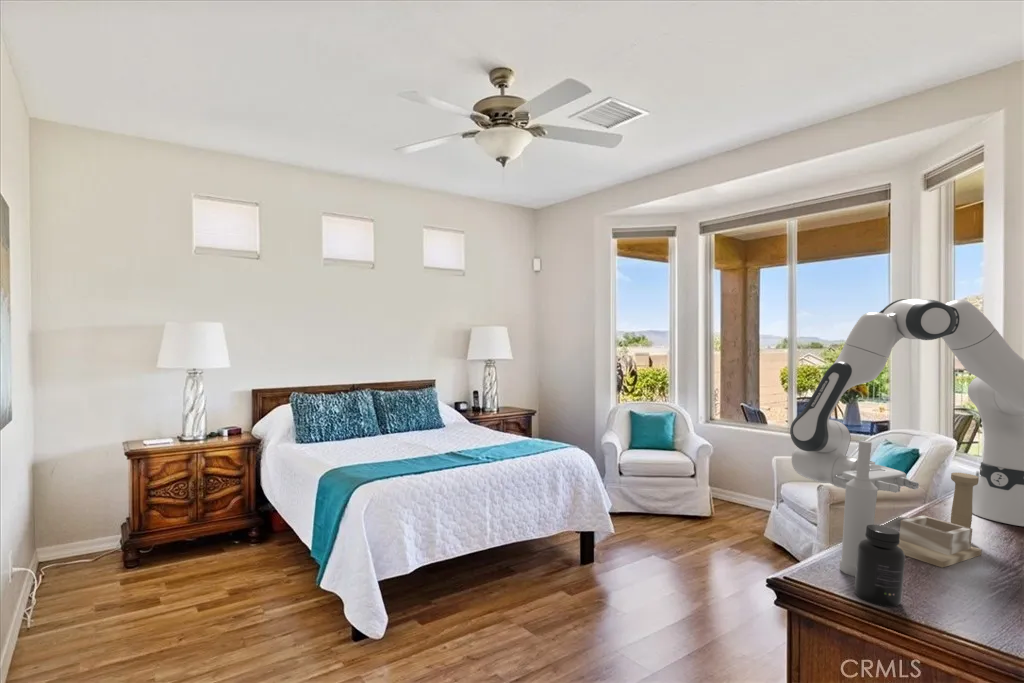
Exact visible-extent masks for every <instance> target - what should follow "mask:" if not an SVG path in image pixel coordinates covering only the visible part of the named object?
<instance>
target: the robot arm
mask: <svg viewBox="0 0 1024 683" xmlns="http://www.w3.org/2000/svg"><path fill="white" fill-rule="evenodd" d="M904 338H905V339H909V340H922V341H932V340H938V339H942V340H943V342H944V343H945V344H946V345H947V347H948V348H949V349H950V351H951V352H952V353H953V355H954V356H955V357H956V359H957V360H958V361H959V362H960V364H961V365H962V366H963V368H964V370H966V371H967V373H969V374H971V375H973V376H974V377H975V378H973V379H972V380H971V381H970V383H969V385H968V388H967V394H968V397H969V400H970V402H971V403H973V404H974V406H975V407H976V409H977V411H978V413H979V416H980V419H981V423H982V428H983V436H984V440H983V458H982V461H980V466H979V475H980V476H979V481H978V484H977V485H975V486H973V498H972V515H975V516H978V517H980V518H984V519H987V520H990V521H994V522H997V523H1003V524H1008V525H1012V526H1019V527H1024V358H1023V357H1021V356H1020V355H1019V354H1018V353H1017V352H1015V350H1014V349H1013V348H1012V347H1011V346H1010V344H1008V342H1007V341H1006V340H1005V339H1004V337H1003V336H1002V335H1001V334H1000V332H999V330H998V329H997V328H996V327H995V326H994V324H993V323H992V321H990V320H989V319H988V318H987V317H986V316H985V315H984V313H983V312H982V311H981V310H980V309H978V308H977V307H976V306H975V305H973V303H972V302H970V301H967V300H965V299H954V300H951V301H948V302H945V303H943V302H942V301H939V300H934V299H926V298H918V297H917V298H916V297H915V298H909V299H907V298H906V299H905V298H902V299H897V300H895V301H892V302H890V303H889V304H887V305H886V306H885V307H884V308H883V309H881V310H880V311H879V312H878V311H872V312H871V311H869V312H867V313H864V314H862V315H861V316H860V317H859V318H858V320H857V321H856V323H855V324H854V326H853V328H852V329H851V331H850V332H849V335H848V336H847V339H846V340H845V342H844V345H843V347H842V349H841V351H840V353H839V355H838V357H837V358H836V360H835V361H834V363H833V364H832V365H831V366H830V367H829V368H828V369H827V371H826V372H825V373H824V375H823V376H822V378H821V380H820V382H819V384H818V385H817V387H816V389H815V390H814V391H813V393H812V396H811V397H810V399H809V401H808V403H807V404H806V406H805V408H804V409H803V410H802V411H801V412H800V413H799V414H798V415H797V416H796V417H795V418H794V419H793V421H791V425H790V429H789V434H790V439H791V441H792V442H793V444H794V445H795V446H796V448H795V449H794V450H793V452H792V454H791V465H792V467H793V470H794V471H795V472H796V474H798V475H800V476H802V477H803V478H805V479H808V480H812V481H815V482H818V483H820V484H821V483H822V484H830V485H833V486H834V487H837V488H841V489H844V490H846V483H847V482H849V481H850V480H852V479H854V476H855V475H857V464H858V457H852V456H848V455H847V453H848V450H849V447H850V444H851V439H852V438H851V432H850V431H849V428H848V427H847V426H846V425H845V424H844V423H843V422H841V421H838V420H835V419H830V417H831V416H832V414H833V412H834V410H835V409H836V407H837V405H838V403H839V402H840V400H841V398H842V396H843V395H844V394H845V393H846V392H847V390H849V389H851V388H853V387H855V386H859V385H862V384H867V383H869V382H872V381H875V380H876V378H877V379H878V377H879V375H880V374H881V372H882V371H883V370H884V368H885V366H886V364H887V362H888V360H889V357H890V355H891V353H892V350H893V348H894V347H895V346H896V344H897V343H898V342H899V341H900V340H902V339H904ZM869 478H870V479H871V482H872V483H873V484H874V485H875V486H876V487H877V488H878V491H883V492H885V491H886V492H891V493H900V492H901V488H902V487H906V488H908V489H911V490H918V489H920V488H919V487H920V483H919V482H918V481H915V480H912V479H909V478H907V473H905V472H904V471H903V470H898V469H894V468H893V467H892V468H891V467H887V466H885V465H880V464H876V462H875V461H873V460H870V465H869Z"/></svg>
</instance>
